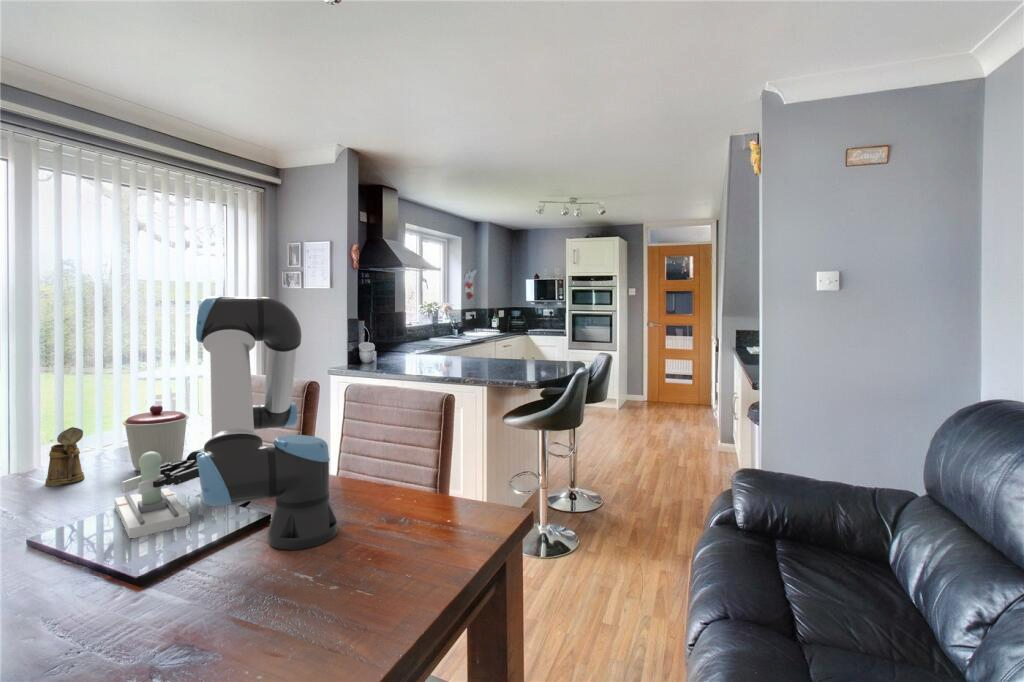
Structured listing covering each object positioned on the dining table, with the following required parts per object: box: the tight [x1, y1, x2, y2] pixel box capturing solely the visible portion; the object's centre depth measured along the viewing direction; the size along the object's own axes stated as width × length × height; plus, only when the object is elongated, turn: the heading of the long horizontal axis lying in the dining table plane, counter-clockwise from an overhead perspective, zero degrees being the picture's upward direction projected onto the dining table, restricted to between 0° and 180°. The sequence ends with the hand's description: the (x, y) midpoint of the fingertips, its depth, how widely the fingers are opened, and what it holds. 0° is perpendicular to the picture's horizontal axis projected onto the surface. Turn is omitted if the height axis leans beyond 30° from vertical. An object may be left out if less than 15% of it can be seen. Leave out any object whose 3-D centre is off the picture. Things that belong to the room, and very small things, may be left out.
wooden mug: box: [44, 426, 85, 487], centre depth 156 cm, size 9×14×18 cm, turn 54°
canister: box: [122, 404, 190, 472], centre depth 172 cm, size 18×18×21 cm
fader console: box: [114, 487, 191, 540], centre depth 132 cm, size 26×12×3 cm, turn 43°
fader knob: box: [138, 451, 166, 513], centre depth 130 cm, size 5×5×14 cm
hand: (131, 488), depth 125 cm, fingers closed on fader knob, 4 cm apart
